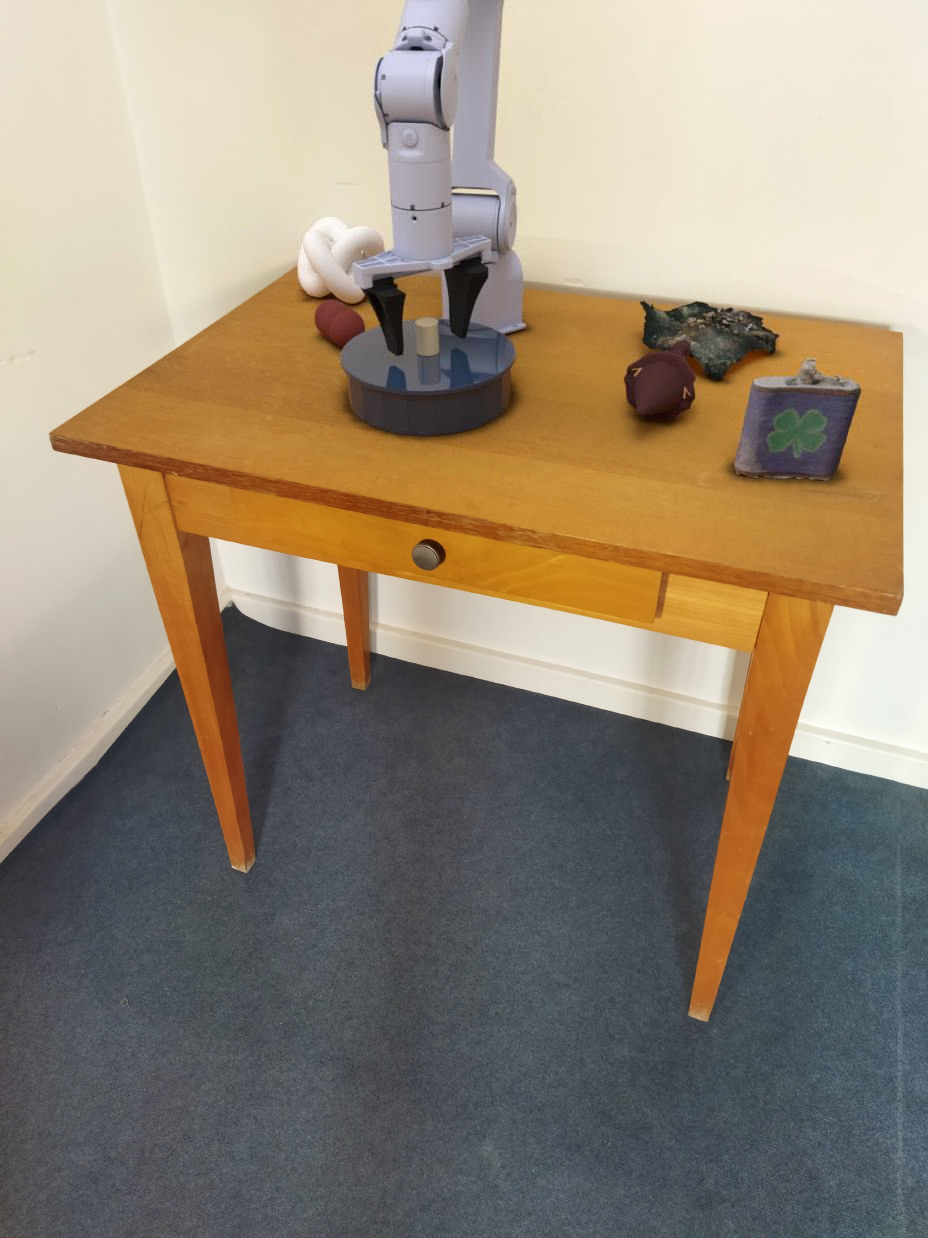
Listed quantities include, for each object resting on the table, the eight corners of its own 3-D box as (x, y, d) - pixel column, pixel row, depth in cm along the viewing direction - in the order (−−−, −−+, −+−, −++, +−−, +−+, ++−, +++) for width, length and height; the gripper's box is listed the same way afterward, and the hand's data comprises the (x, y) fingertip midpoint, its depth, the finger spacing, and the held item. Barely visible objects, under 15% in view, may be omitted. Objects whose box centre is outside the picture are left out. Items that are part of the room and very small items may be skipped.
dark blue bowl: (454, 351, 104) (453, 312, 101) (542, 406, 92) (544, 364, 90) (322, 388, 97) (317, 348, 94) (400, 452, 85) (397, 409, 83)
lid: (455, 315, 102) (454, 277, 99) (550, 370, 90) (552, 329, 87) (311, 353, 94) (306, 313, 91) (395, 418, 82) (392, 375, 80)
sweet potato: (342, 326, 110) (338, 291, 107) (373, 348, 105) (370, 311, 102) (310, 334, 108) (306, 298, 105) (340, 356, 103) (336, 319, 100)
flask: (734, 477, 81) (758, 366, 74) (731, 461, 83) (753, 352, 76) (838, 482, 80) (872, 370, 73) (831, 465, 82) (863, 355, 75)
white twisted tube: (371, 273, 125) (365, 205, 119) (403, 300, 116) (398, 229, 111) (294, 286, 121) (284, 217, 115) (321, 315, 113) (312, 243, 107)
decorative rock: (678, 274, 111) (800, 285, 104) (673, 323, 114) (791, 337, 107) (619, 314, 97) (755, 330, 91) (616, 369, 101) (746, 387, 94)
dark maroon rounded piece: (691, 394, 80) (724, 346, 91) (618, 362, 81) (658, 318, 92) (661, 459, 84) (696, 405, 95) (592, 427, 86) (634, 378, 97)
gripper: (373, 226, 76) (384, 374, 85) (509, 198, 82) (507, 339, 91) (336, 207, 81) (351, 349, 90) (468, 182, 87) (470, 318, 96)
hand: (427, 343), depth 91 cm, fingers open, 7 cm apart
